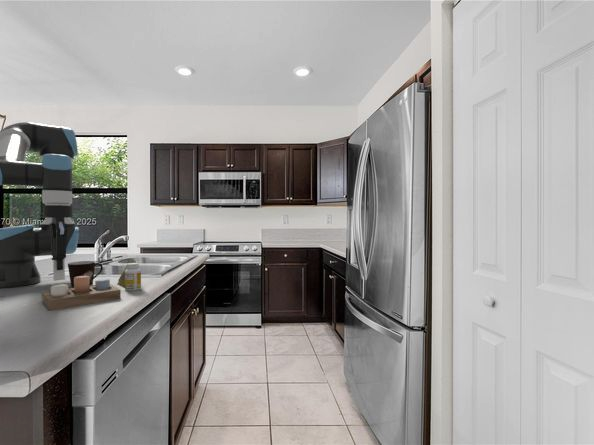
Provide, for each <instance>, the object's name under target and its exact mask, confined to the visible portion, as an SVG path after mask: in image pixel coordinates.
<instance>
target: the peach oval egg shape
mask: <svg viewBox="0 0 594 445" xmlns="http://www.w3.org/2000/svg"><path fill="white" fill-rule="evenodd" d="M83 292H90V287H89V276H78V277H74V294H76V293H83Z"/></svg>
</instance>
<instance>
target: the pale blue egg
mask: <svg viewBox="0 0 594 445" xmlns="http://www.w3.org/2000/svg"><path fill="white" fill-rule="evenodd" d="M110 280H111V279H110V278H104V279H103V278H100V279H96V280H95V281H94V282H95V284H94V285H95V290H96V291H97V290H104V289H110V284H111V281H110Z"/></svg>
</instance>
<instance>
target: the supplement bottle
mask: <svg viewBox="0 0 594 445" xmlns="http://www.w3.org/2000/svg"><path fill="white" fill-rule="evenodd" d="M126 266H127V268H128V269H127V270H125V286H124V290H125V291H127V292H132V291H133V292H135V291H138V290H141V289H142V271H141V269H140V268H139V267H140V264H139V262H137V263H129V262H128V263H126Z"/></svg>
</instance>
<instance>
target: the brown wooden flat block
mask: <svg viewBox="0 0 594 445" xmlns="http://www.w3.org/2000/svg"><path fill="white" fill-rule="evenodd" d="M89 287H90V292H83V293H76V294H74V288H71V287H70V288H69V287H68V295H63V296H56V297H52V296H51V290H46V291H41V300H42V301H41V302H42V303H43V304H44V305H45V307H46V308H47V309H48V311H54V310H60V309H67V308H73V307H79V306H83V305H84V306H85V305H89V304H90V305H91V304H97V303H103V302H109V301H115V300H120V299H121V296H122V295H121V293H122V292H121V291H122V290H121V289H120V288H118V287H116V286H114V285H113V284H111V283H110V289H104V290H97V291H96V290H95V284H93V285H90V286H89Z"/></svg>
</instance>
